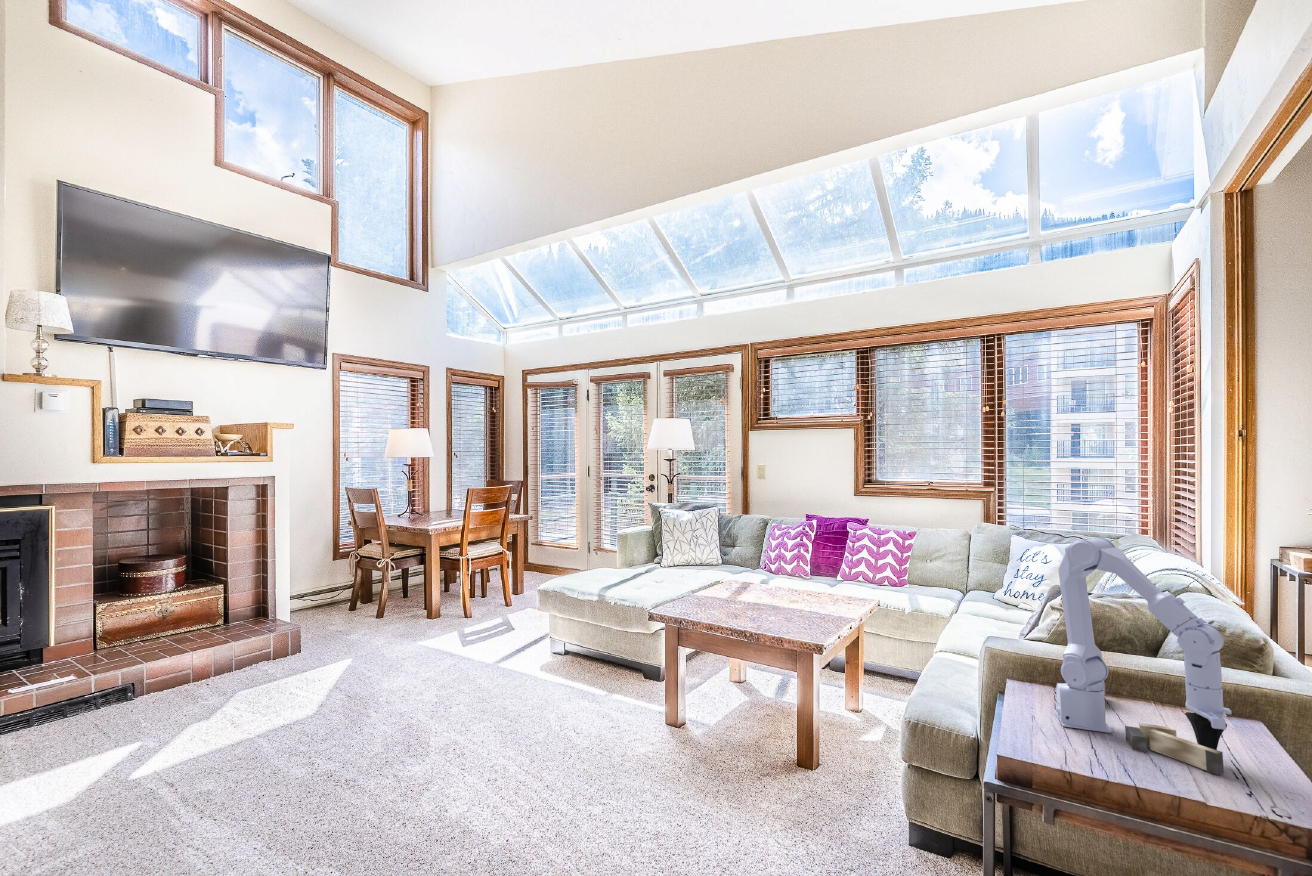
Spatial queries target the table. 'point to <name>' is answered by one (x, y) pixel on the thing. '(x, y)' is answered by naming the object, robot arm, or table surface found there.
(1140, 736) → the tong pivot
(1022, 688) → the table surface
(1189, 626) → the robot arm
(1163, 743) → the bar
